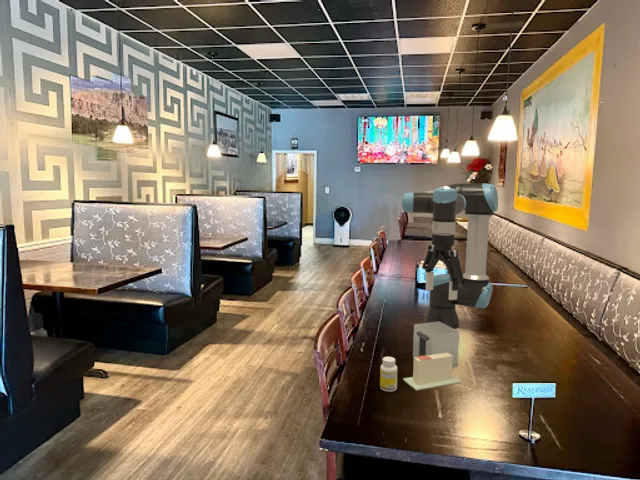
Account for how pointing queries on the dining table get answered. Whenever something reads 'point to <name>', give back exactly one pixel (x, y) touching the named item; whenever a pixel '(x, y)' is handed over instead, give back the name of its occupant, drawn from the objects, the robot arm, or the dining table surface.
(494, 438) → the dining table surface
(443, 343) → the plate
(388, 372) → the supplement bottle
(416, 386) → the pad
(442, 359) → the cream rectangular block
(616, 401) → the dining table surface
